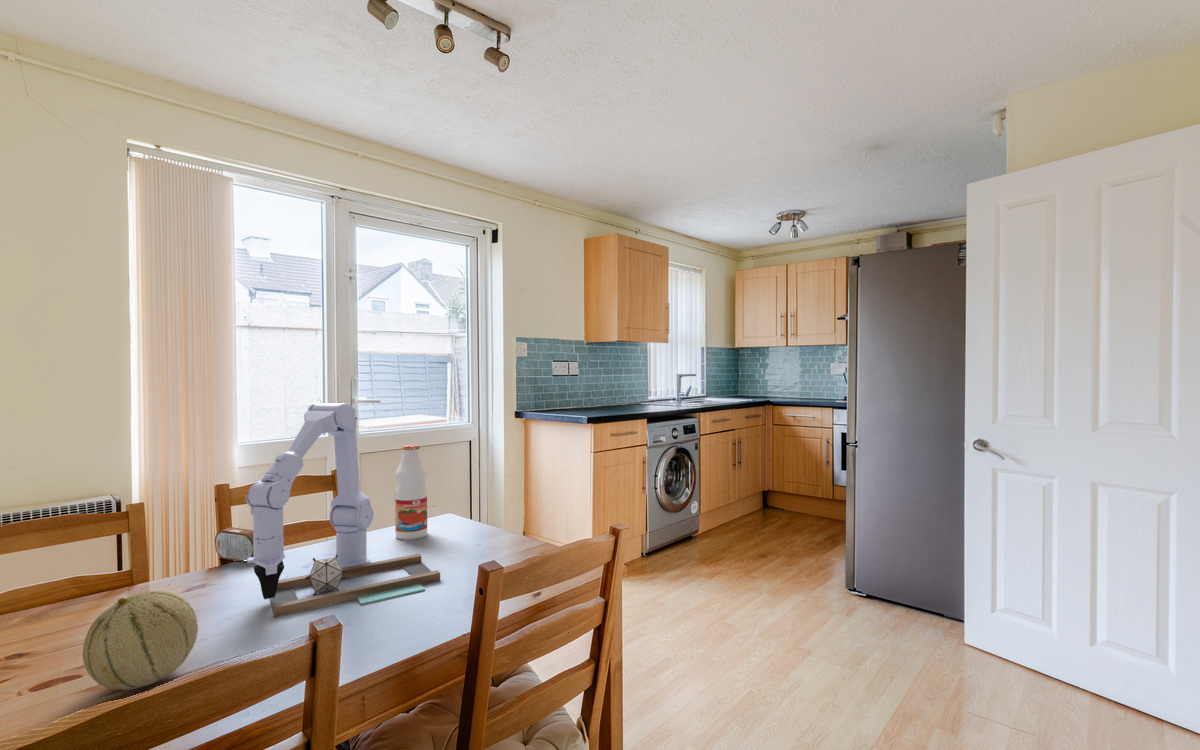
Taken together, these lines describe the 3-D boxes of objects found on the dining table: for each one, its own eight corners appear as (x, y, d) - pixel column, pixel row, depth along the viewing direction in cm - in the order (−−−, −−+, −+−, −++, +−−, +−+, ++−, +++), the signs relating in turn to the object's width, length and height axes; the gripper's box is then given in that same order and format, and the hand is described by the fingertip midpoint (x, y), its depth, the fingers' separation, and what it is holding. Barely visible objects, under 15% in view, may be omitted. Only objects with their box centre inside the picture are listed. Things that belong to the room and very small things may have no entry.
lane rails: (268, 590, 131) (268, 582, 131) (419, 561, 150) (419, 553, 150) (274, 617, 117) (274, 607, 117) (440, 580, 136) (440, 572, 136)
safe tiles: (339, 571, 143) (339, 569, 143) (396, 560, 151) (396, 559, 151) (360, 605, 122) (360, 603, 122) (424, 590, 130) (424, 588, 130)
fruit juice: (423, 529, 180) (422, 442, 180) (430, 537, 172) (430, 446, 172) (392, 534, 175) (391, 444, 175) (398, 542, 167) (398, 448, 167)
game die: (330, 610, 129) (332, 584, 123) (296, 596, 129) (296, 570, 123) (353, 578, 136) (355, 553, 131) (320, 566, 136) (321, 540, 131)
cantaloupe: (219, 665, 98) (218, 580, 97) (128, 716, 83) (127, 616, 83) (155, 654, 101) (154, 572, 101) (58, 700, 87) (57, 605, 87)
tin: (263, 561, 151) (263, 530, 151) (253, 565, 148) (252, 533, 148) (223, 555, 156) (223, 525, 156) (212, 559, 153) (212, 528, 153)
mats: (268, 593, 129) (268, 592, 129) (421, 563, 149) (421, 562, 149) (273, 613, 118) (273, 612, 118) (437, 578, 138) (437, 576, 138)
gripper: (245, 531, 127) (246, 590, 127) (248, 547, 115) (249, 613, 115) (281, 526, 131) (281, 583, 131) (287, 541, 119) (288, 605, 119)
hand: (269, 597), depth 123 cm, fingers closed
